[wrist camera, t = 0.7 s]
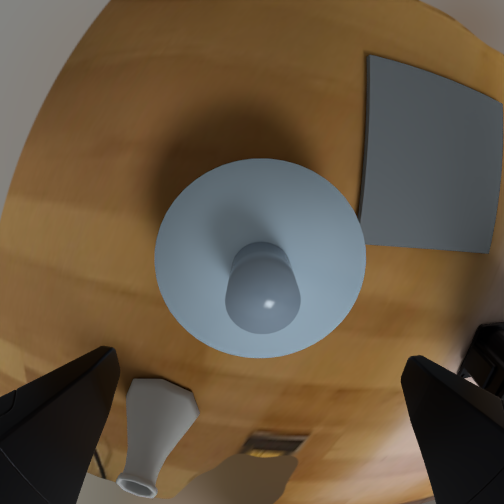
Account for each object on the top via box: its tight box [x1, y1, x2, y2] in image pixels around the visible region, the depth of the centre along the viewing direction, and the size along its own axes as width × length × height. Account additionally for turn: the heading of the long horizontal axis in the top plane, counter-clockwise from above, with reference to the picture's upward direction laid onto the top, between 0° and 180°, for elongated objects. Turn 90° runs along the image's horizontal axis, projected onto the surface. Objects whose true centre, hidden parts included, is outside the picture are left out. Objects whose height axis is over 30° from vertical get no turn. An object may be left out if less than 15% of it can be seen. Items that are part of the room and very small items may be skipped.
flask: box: [116, 379, 200, 498], centre depth 20 cm, size 7×7×10 cm
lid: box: [155, 159, 366, 358], centre depth 14 cm, size 11×11×4 cm
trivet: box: [358, 55, 503, 254], centre depth 18 cm, size 13×13×1 cm
